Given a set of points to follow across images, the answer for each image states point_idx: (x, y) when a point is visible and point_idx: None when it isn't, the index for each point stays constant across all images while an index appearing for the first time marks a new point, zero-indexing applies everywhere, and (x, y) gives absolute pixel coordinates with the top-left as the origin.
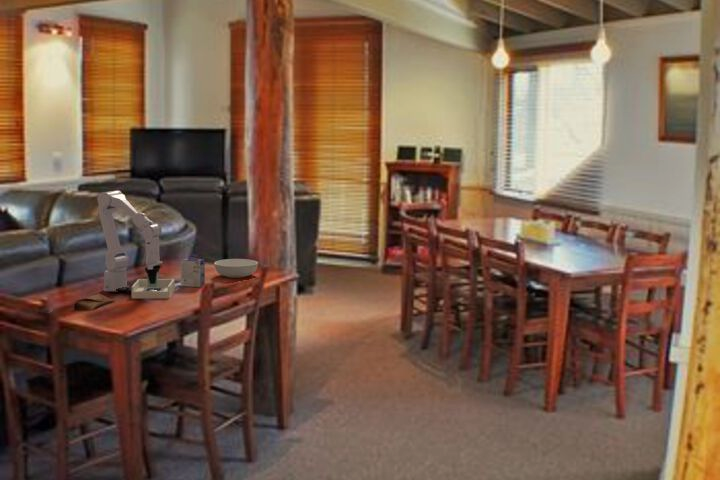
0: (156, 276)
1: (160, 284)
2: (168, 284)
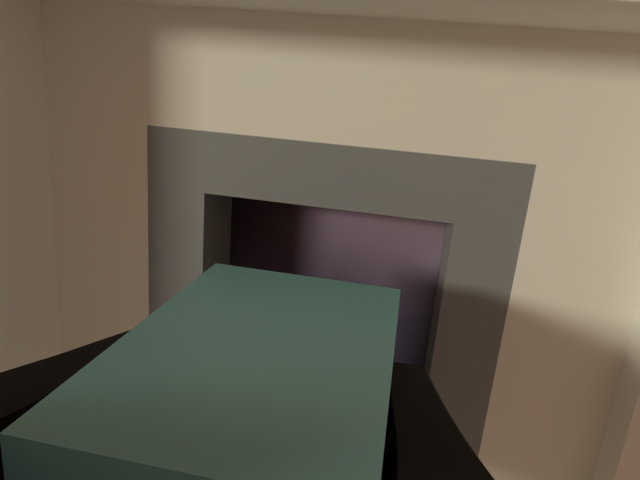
0: (384, 435)
1: (32, 225)
2: (23, 78)
